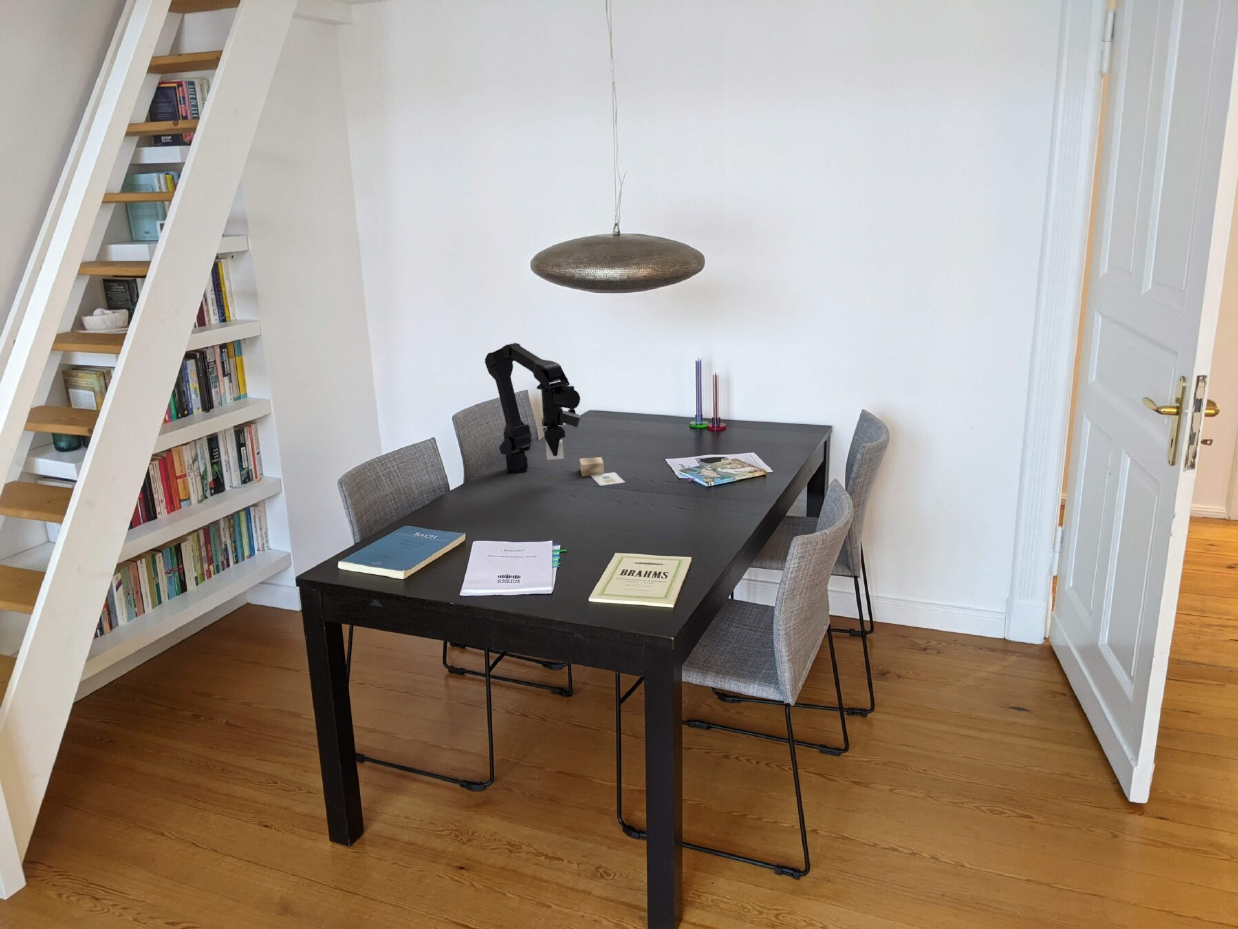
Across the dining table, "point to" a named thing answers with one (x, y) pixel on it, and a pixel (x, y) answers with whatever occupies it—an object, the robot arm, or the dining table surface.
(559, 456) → the white cube
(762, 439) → the dining table surface
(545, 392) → the robot arm
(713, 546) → the dining table surface
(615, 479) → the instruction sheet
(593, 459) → the oak base
